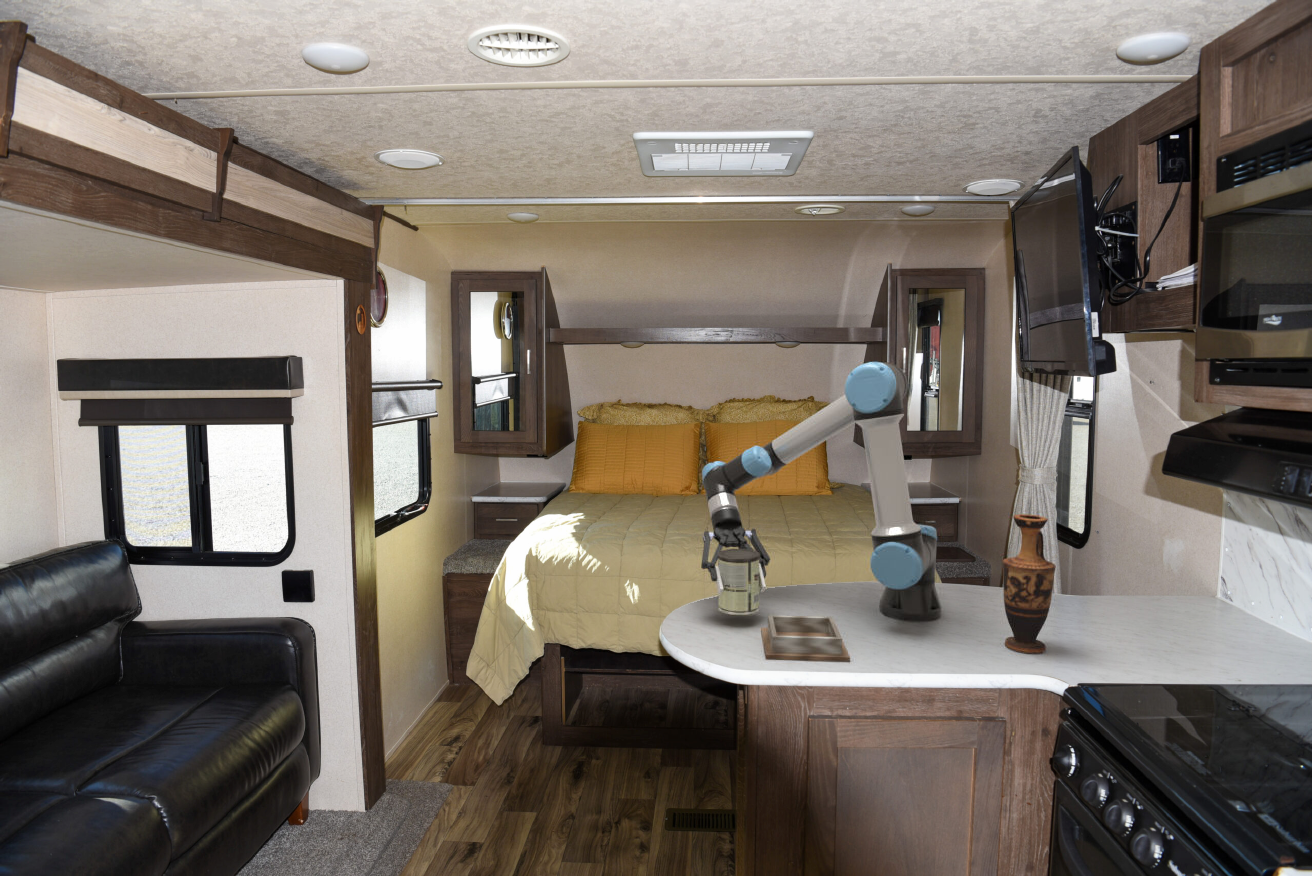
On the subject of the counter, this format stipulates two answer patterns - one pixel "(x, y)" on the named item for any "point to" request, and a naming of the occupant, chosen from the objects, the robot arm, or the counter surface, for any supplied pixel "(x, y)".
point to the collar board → (803, 639)
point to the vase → (1028, 586)
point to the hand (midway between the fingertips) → (742, 590)
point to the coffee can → (739, 581)
